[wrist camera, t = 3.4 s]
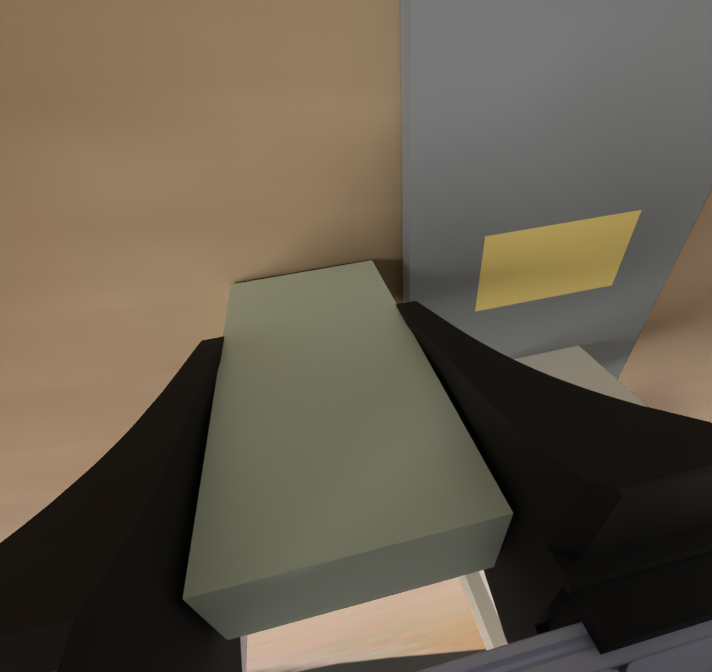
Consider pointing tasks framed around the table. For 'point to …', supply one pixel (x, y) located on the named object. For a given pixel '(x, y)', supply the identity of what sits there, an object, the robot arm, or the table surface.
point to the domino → (331, 460)
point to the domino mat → (551, 164)
